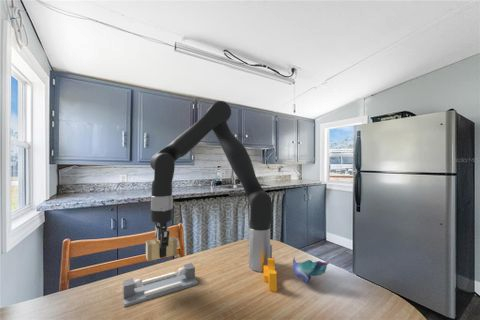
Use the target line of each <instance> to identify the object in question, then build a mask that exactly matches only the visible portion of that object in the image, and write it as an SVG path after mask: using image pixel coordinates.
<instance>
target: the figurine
mask: <svg viewBox="0 0 480 320" xmlns="http://www.w3.org/2000/svg"><path fill="white" fill-rule="evenodd" d="M331 262H332V261H331V260H330V261H324V262H323V261H320V260H319V261H313V260H311V259H307V260H305V261H302V262H301V261H298V262H296V256H295V254H294V256H293V260H292V268H293V272H294V275H295V276H296V277H297V278H299V279H301V280H304V282H305V283H306V284H308V283H309V282H310V281H311V277H318V276H322V275H323V274H325V273H326V270H327V267H328V265H329V264H330V263H331Z"/></svg>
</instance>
